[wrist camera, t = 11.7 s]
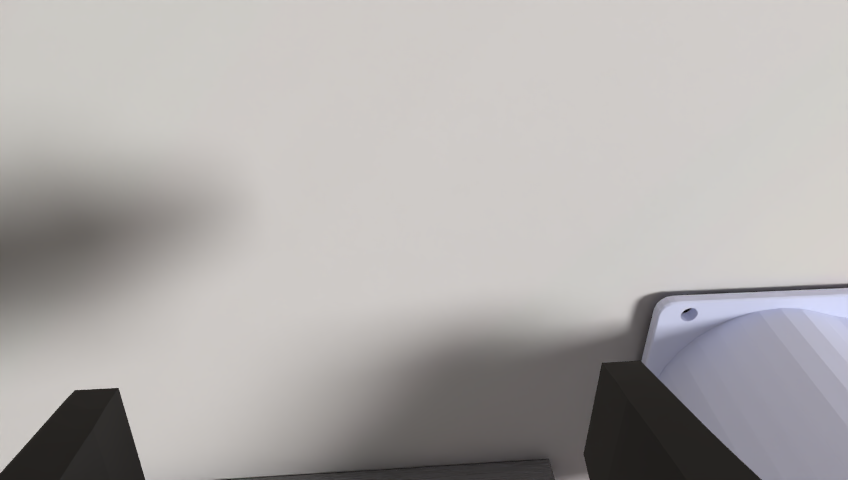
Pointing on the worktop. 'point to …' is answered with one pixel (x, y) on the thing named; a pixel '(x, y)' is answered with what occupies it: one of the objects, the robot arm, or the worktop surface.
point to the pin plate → (442, 473)
